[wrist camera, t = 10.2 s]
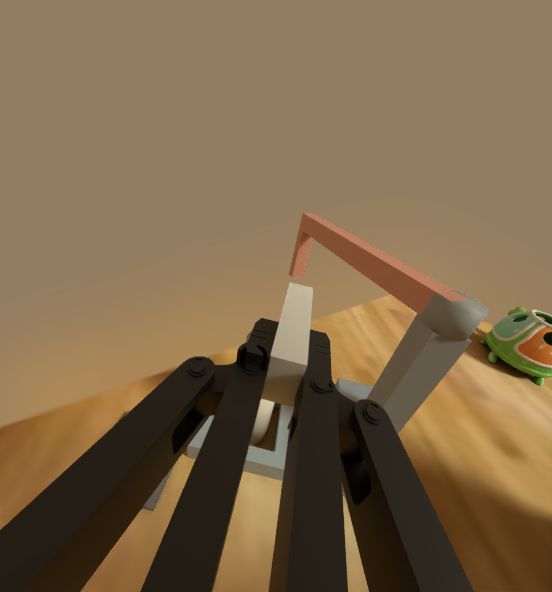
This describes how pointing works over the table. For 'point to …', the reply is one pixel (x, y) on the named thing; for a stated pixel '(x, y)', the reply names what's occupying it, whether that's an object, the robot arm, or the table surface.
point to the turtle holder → (523, 342)
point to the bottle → (261, 418)
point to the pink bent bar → (392, 279)
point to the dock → (369, 393)
